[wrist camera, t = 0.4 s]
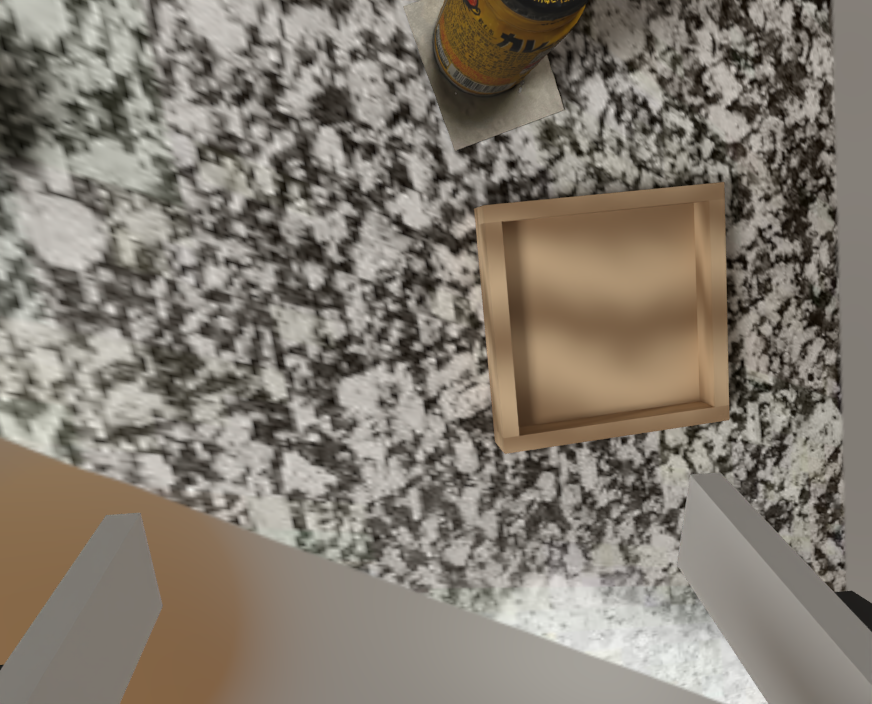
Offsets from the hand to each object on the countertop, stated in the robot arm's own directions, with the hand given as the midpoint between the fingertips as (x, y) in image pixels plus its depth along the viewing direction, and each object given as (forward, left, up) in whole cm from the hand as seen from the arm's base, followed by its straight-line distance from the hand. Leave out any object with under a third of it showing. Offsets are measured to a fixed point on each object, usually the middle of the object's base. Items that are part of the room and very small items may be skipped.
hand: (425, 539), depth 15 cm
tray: (-1, +15, -24) cm, 28 cm away
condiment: (-17, +9, -24) cm, 31 cm away
